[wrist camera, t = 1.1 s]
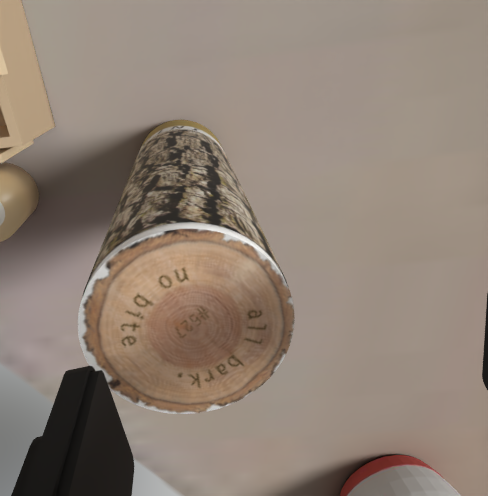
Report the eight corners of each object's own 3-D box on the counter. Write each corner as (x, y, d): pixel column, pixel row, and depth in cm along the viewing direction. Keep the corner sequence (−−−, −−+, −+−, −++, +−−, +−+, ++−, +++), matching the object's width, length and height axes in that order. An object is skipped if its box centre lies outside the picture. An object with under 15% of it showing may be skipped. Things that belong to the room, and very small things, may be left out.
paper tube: (240, 166, 38) (334, 333, 15) (178, 217, 39) (179, 446, 16) (186, 99, 36) (202, 179, 13) (121, 155, 37) (27, 324, 14)
